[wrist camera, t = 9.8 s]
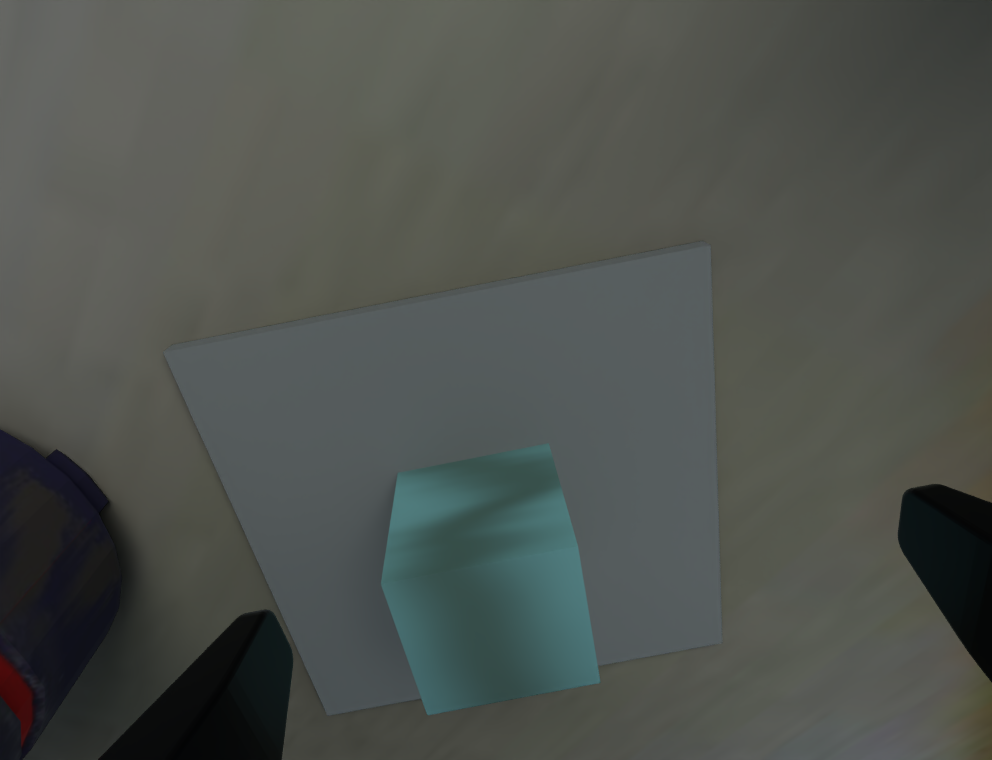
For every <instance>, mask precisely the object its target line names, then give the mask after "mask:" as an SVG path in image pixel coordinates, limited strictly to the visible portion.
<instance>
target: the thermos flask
mask: <svg viewBox="0 0 992 760" xmlns="http://www.w3.org/2000/svg"><path fill="white" fill-rule="evenodd" d="M107 502H108V500H107V498H106V496H105V495H104V494H103V493H102V491H101V490H100V489H99V488H98V487H97V485H96V484H95V483H94V482H93V480H92V479H91V478H90V477H89V476H88V474H87V473H86V472H85V471H84V470H82V469H81V468H80V467H79V466H78V465H76V464H75V463H74V462H73V461H72V460H71V459H69V458H68V457H67V456H66V455H64V454H63V453H61V452H60V451H58V450H57V449H56V450H55V451H54V452H53V453H51V454H50V455H49V456H48V457H47V458H46V459H45V458H44V457H43V456H41V455H40V454H39V453H38V452H37V451H35V450H34V449H33V448H31V447H30V446H28V445H26V444H24V443H23V442H21V441H19V440H18V439H16V438H14V437H12V436H11V435H9V434H7V433H6V432H4V431H2V430H0V760H22V759H23V758H24V757H25V756H26V755H27V753H28V752H29V751H30V750H31V749H32V747H33V746H34V744H35V743H36V741H37V740H38V738H39V736H40V735H41V733H42V732H43V730H44V729H45V727H46V726H47V724H48V723H49V721H50V720H51V718H52V717H53V715H54V714H55V712H56V711H57V709H58V708H59V706H60V705H61V703H62V701H63V700H64V698H65V697H66V695H67V694H68V692H69V691H70V689H71V688H72V686H73V685H74V683H75V682H76V680H77V679H78V677H79V676H80V674H81V673H82V671H83V670H84V668H85V667H86V665H87V663H88V662H89V660H90V659H91V657H92V656H93V654H94V653H95V651H96V650H97V648H98V647H99V645H100V644H101V642H102V641H103V639H104V638H105V636H106V635H107V633H108V631H109V629H110V627H111V624H112V622H113V620H114V618H115V615H116V613H117V611H118V609H119V604H120V593H121V582H122V575H121V571H120V566H119V562H118V557H117V553H116V548H115V545H114V543H113V541H112V539H111V537H110V535H109V533H108V531H107V529H106V527H105V525H104V524H103V522H102V520H101V518H100V516H99V513H100V511H101V510H102V509H103V507H104V506H105V505H106V504H107Z"/></svg>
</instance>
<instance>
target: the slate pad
mask: <svg viewBox="0 0 992 760" xmlns="http://www.w3.org/2000/svg"><path fill="white" fill-rule="evenodd" d="M163 354H164V356H165V358H166V360H167V363H168V365H169V367H170V369H171V371H172V374H173V376H174V378H175V380H176V382H177V385H178V387H179V389H180V391H181V393H182V396H183V398H184V400H185V402H186V404H187V407H188V409H189V411H190V413H191V416H192V418H193V420H194V422H195V424H196V427H197V429H198V431H199V433H200V435H201V438H202V440H203V442H204V444H205V446H206V449H207V451H208V453H209V455H210V457H211V460H212V462H213V464H214V466H215V468H216V471H217V473H218V475H219V477H220V480H221V482H222V484H223V486H224V488H225V491H226V493H227V495H228V497H229V499H230V502H231V504H232V506H233V508H234V510H235V513H236V515H237V517H238V519H239V521H240V524H241V526H242V528H243V530H244V532H245V535H246V537H247V539H248V541H249V544H250V546H251V548H252V550H253V552H254V555H255V557H256V559H257V561H258V563H259V566H260V568H261V570H262V572H263V574H264V577H265V579H266V581H267V583H268V585H269V588H270V590H271V592H272V594H273V596H274V599H275V601H276V603H277V605H278V608H279V610H280V612H281V614H282V616H283V619H284V621H285V623H286V625H287V627H288V630H289V632H290V634H291V636H292V638H293V641H294V643H295V645H296V647H297V649H298V652H299V654H300V656H301V658H302V661H303V663H304V665H305V667H306V669H307V672H308V674H309V676H310V678H311V680H312V683H313V685H314V687H315V689H316V691H317V694H318V696H319V698H320V700H321V702H322V705H323V707H324V709H325V711H326V713H327V716H330V715H335V714H341V713H346V712H351V711H357V710H362V709H368V708H373V707H378V706H384V705H389V704H395V703H400V702H406V701H411V700H416V699H421V696H420V693H419V690H418V687H417V685H416V682H415V679H414V676H413V673H412V670H411V668H410V665H409V662H408V659H407V656H406V654H405V651H404V648H403V645H402V642H401V640H400V637H399V634H398V631H397V628H396V625H395V623H394V620H393V617H392V614H391V611H390V609H389V606H388V603H387V600H386V597H385V594H384V592H383V589H382V586H381V580H382V573H383V566H384V560H385V553H386V547H387V540H388V534H389V527H390V520H391V514H392V507H393V501H394V494H395V488H396V481H397V475H398V473H399V472H405V471H410V470H415V469H420V468H425V467H430V466H435V465H440V464H445V463H450V462H456V461H461V460H466V459H471V458H476V457H481V456H486V455H491V454H496V453H501V452H507V451H512V450H517V449H522V448H527V447H532V446H537V445H542V444H547V443H549V446H550V449H551V453H552V456H553V460H554V463H555V467H556V470H557V474H558V477H559V481H560V484H561V488H562V492H563V495H564V499H565V502H566V506H567V509H568V513H569V516H570V520H571V523H572V527H573V530H574V534H575V537H576V541H577V544H578V549H579V555H580V561H581V568H582V574H583V580H584V586H585V592H586V598H587V604H588V610H589V616H590V622H591V628H592V634H593V640H594V646H595V653H596V659H597V665H598V666H601V665H606V664H611V663H617V662H622V661H628V660H633V659H639V658H644V657H649V656H655V655H660V654H666V653H671V652H677V651H682V650H687V649H693V648H698V647H704V646H709V645H714V644H720V643H722V612H721V578H720V545H719V511H718V477H717V443H716V410H715V376H714V342H713V308H712V274H711V245H709V244H708V243H706V242H704V241H699V242H694V243H689V244H684V245H679V246H674V247H669V248H664V249H658V250H653V251H648V252H643V253H638V254H633V255H628V256H623V257H618V258H613V259H607V260H602V261H597V262H592V263H587V264H582V265H577V266H572V267H567V268H562V269H556V270H551V271H546V272H541V273H536V274H531V275H526V276H521V277H516V278H511V279H505V280H500V281H495V282H490V283H485V284H480V285H475V286H470V287H465V288H460V289H454V290H449V291H444V292H439V293H434V294H429V295H424V296H419V297H414V298H409V299H403V300H398V301H393V302H388V303H383V304H378V305H373V306H368V307H363V308H358V309H352V310H347V311H342V312H337V313H332V314H327V315H322V316H317V317H312V318H307V319H301V320H296V321H291V322H286V323H281V324H276V325H271V326H266V327H261V328H256V329H250V330H245V331H240V332H235V333H230V334H225V335H220V336H215V337H210V338H205V339H199V340H194V341H189V342H184V343H179V344H174V345H171V346H170V347H169V348H168V349H166V350H165V351H164V352H163Z"/></svg>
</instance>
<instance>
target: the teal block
mask: <svg viewBox="0 0 992 760" xmlns="http://www.w3.org/2000/svg"><path fill="white" fill-rule="evenodd" d="M381 586H382V589H383V592H384V594H385V597H386V600H387V603H388V606H389V609H390V611H391V614H392V617H393V620H394V623H395V625H396V628H397V631H398V634H399V637H400V640H401V642H402V645H403V648H404V651H405V654H406V656H407V659H408V662H409V665H410V668H411V670H412V673H413V676H414V679H415V682H416V685H417V687H418V690H419V693H420V696H421V699H422V701H423V704H424V707H425V710H426V713H427V715H432V714H437V713H443V712H448V711H453V710H459V709H464V708H469V707H475V706H480V705H485V704H491V703H496V702H501V701H506V700H512V699H517V698H522V697H528V696H533V695H538V694H544V693H549V692H554V691H560V690H565V689H570V688H576V687H581V686H586V685H592V684H597V683H600V677H599V671H598V665H597V659H596V653H595V646H594V640H593V634H592V628H591V622H590V616H589V610H588V604H587V598H586V592H585V586H584V580H583V574H582V568H581V561H580V555H579V549H578V544H577V541H576V537H575V534H574V530H573V527H572V523H571V520H570V516H569V513H568V509H567V506H566V502H565V499H564V495H563V492H562V488H561V484H560V481H559V477H558V474H557V470H556V467H555V463H554V460H553V456H552V453H551V449H550V446H549V443H547V444H542V445H537V446H532V447H527V448H522V449H517V450H512V451H507V452H501V453H496V454H491V455H486V456H481V457H476V458H471V459H466V460H461V461H456V462H450V463H445V464H440V465H435V466H430V467H425V468H420V469H415V470H410V471H405V472H399V473H398V475H397V481H396V488H395V494H394V501H393V507H392V514H391V520H390V527H389V534H388V540H387V547H386V553H385V560H384V566H383V573H382V580H381Z"/></svg>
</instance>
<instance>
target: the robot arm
mask: <svg viewBox="0 0 992 760" xmlns="http://www.w3.org/2000/svg"><path fill="white" fill-rule="evenodd" d="M898 541H899V544H900V547H901V549H902V552H903V553H904V555H905V557H906V558H907V560H908V561H909V563H910V564H911V566H912V567H913V569H914V570H915V572H916V573H917V575H918V577H919V578H920V580H921V581H922V583H923V584H924V586H925V587H926V589H927V590H928V592H929V593H930V595H931V596H932V598H933V600H934V601H935V603H936V604H937V606H938V607H939V609H940V610H941V612H942V613H943V615H944V616H945V618H946V619H947V621H948V623H949V624H950V626H951V627H952V629H953V630H954V632H955V633H956V635H957V636H958V638H959V639H960V641H961V642H962V644H963V645H964V646H965V648H966V649H967V651H968V652H969V654H970V655H971V656H972V658H973V659H974V660H975V662H976V663H977V664H978V665H979V667H980V668H981V669H982V671H983V672H984V673H985V675H986V676H987V677H988V678H989V680H990V681H991V682H992V503H991V502H988V501H985V500H982V499H980V498H977V497H974V496H971V495H969V494H966V493H963V492H960V491H958V490H955V489H952V488H949V487H947V486H944V485H940V484H931V485H926V486H920V487H915V488H910V489H908V490H906V492H905V493H904V494H903V497H902V504H901V512H900V520H899V528H898ZM292 669H293V654H292V650H291V647H290V644H289V642H288V640H287V638H286V636H285V634H284V632H283V630H282V628H281V626H280V624H279V622H278V620H277V618H276V616H275V615H274V613H273V612H272V611H270V610H260V611H255V612H249V613H245V614H242V615H240V616H239V617H238V618H237V619H236V620H235V621H234V622H233V623H232V624H231V625H230V626H229V627H228V628H227V629H226V630H225V631H224V632H223V633H222V634H221V635H220V636H219V637H218V638H217V639H216V640H215V641H214V642H213V643H212V644H211V645H210V646H209V647H208V648H207V649H206V650H205V651H204V652H203V653H202V654H201V655H200V656H199V657H198V658H197V659H196V660H195V661H194V662H193V663H192V664H191V665H190V666H189V667H188V668H187V670H186V671H185V672H184V673H183V674H182V675H181V676H180V677H179V678H178V679H177V680H176V681H175V682H174V683H173V684H172V685H171V686H170V687H169V688H168V689H167V690H166V691H165V692H164V693H163V694H162V695H161V696H160V697H159V698H158V699H157V700H156V701H155V702H154V703H153V704H152V705H151V706H150V707H149V708H148V709H147V710H146V711H145V712H144V713H143V714H142V715H141V716H140V717H139V718H138V719H137V720H136V721H135V722H134V724H133V725H132V726H131V727H130V728H129V729H128V730H127V731H126V732H125V733H124V734H123V735H122V736H121V737H120V738H119V739H118V740H117V741H116V742H115V743H114V744H113V745H112V746H111V747H110V748H109V749H108V750H107V751H106V752H105V753H104V754H103V755H102V756H101V757H100V758H99V759H98V760H282V752H283V744H284V736H285V727H286V719H287V711H288V702H289V694H290V686H291V677H292Z"/></svg>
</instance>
